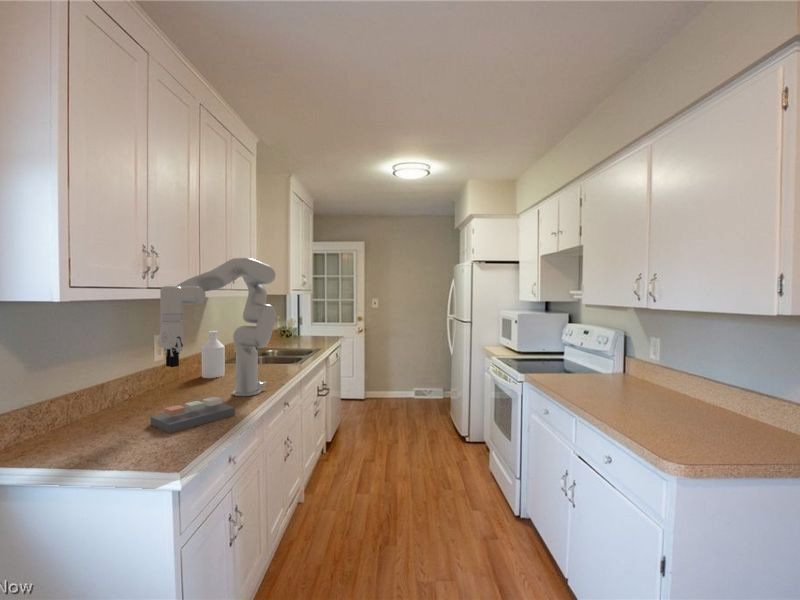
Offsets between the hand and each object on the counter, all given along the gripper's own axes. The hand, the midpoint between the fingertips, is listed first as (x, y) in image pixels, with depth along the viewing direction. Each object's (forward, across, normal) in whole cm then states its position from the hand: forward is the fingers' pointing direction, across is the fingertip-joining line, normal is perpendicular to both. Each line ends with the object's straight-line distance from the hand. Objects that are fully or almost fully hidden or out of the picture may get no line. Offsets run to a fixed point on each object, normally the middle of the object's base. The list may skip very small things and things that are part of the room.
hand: (172, 365), depth 152 cm
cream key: (+15, +12, +9) cm, 21 cm away
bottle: (+19, -54, +47) cm, 74 cm away
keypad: (+19, +12, +2) cm, 23 cm away
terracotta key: (+15, +12, -5) cm, 20 cm away
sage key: (+15, +12, +2) cm, 19 cm away
